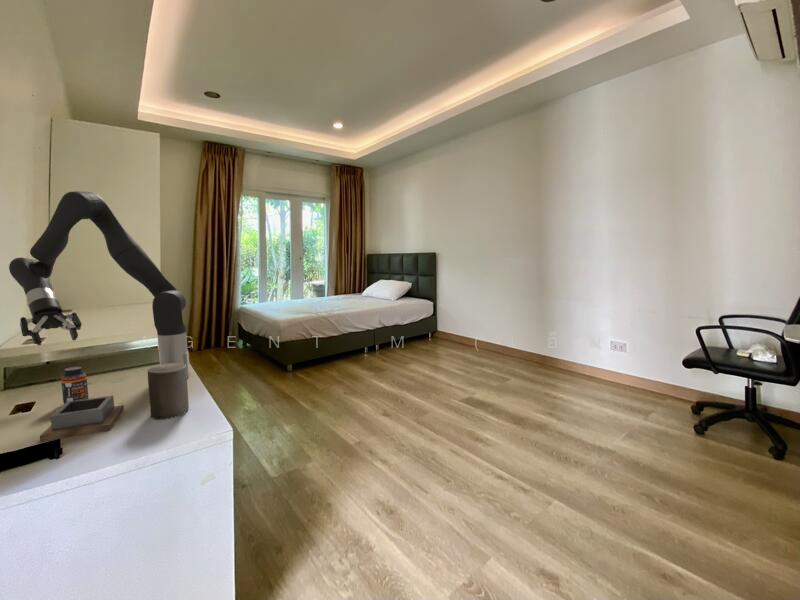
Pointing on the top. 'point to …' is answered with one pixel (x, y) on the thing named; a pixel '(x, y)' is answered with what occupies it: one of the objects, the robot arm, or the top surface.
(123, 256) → the robot arm
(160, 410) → the pillar candle
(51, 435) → the socket board
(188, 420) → the top surface
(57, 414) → the grey square tray
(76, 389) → the supplement bottle
